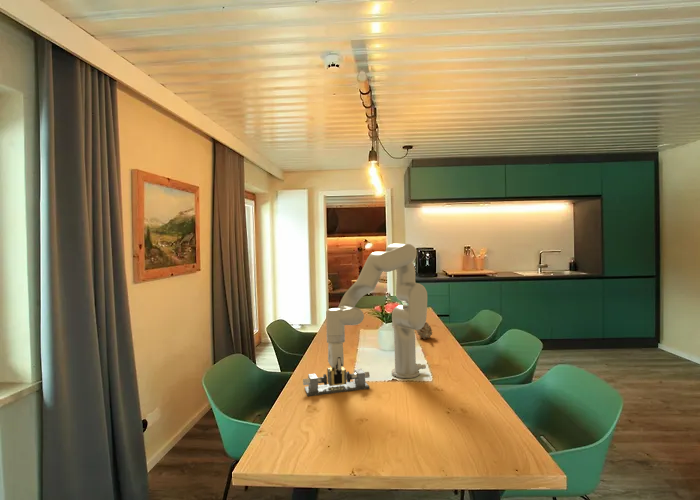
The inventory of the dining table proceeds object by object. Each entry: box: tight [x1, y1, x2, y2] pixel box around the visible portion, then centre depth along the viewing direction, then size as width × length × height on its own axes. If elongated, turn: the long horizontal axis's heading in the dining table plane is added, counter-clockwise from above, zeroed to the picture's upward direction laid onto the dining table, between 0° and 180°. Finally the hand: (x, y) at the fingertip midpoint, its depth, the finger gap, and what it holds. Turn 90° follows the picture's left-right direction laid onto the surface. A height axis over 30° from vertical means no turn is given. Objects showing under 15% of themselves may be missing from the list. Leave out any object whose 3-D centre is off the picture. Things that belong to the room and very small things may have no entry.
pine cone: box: [415, 321, 433, 340], centre depth 244 cm, size 22×10×10 cm, turn 3°
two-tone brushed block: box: [326, 366, 347, 386], centre depth 168 cm, size 7×4×6 cm, turn 104°
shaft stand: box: [302, 368, 370, 397], centre depth 168 cm, size 28×8×7 cm, turn 104°
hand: (336, 381), depth 168 cm, fingers closed on two-tone brushed block, 4 cm apart
